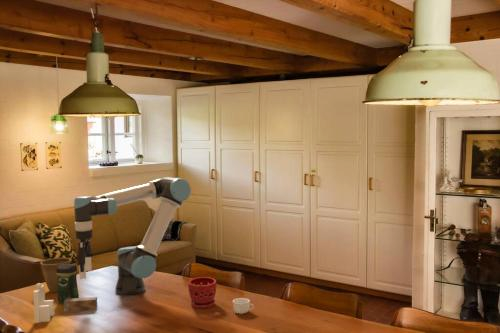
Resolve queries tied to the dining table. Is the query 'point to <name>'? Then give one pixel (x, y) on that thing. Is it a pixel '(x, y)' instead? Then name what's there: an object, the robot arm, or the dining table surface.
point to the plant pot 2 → (202, 292)
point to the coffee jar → (67, 282)
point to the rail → (80, 304)
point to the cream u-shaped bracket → (42, 305)
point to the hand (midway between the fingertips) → (85, 274)
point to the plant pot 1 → (52, 272)
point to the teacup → (241, 305)
